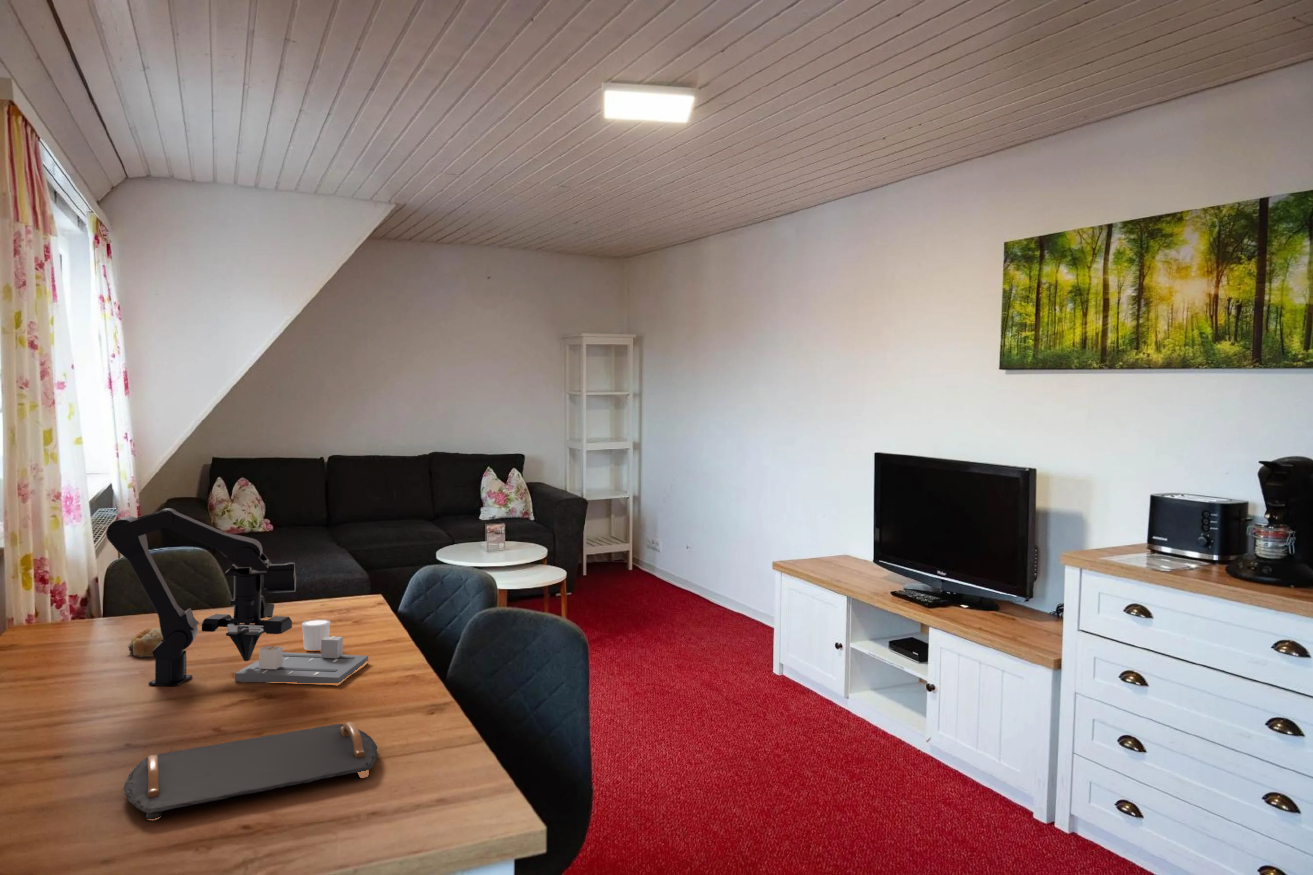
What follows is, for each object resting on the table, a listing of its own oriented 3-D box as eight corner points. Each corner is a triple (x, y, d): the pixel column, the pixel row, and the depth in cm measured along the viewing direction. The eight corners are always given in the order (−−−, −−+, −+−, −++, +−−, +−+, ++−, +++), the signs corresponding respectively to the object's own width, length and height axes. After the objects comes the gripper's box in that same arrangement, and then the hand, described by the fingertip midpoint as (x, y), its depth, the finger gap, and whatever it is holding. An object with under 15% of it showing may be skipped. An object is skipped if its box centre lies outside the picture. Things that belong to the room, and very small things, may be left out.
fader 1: (275, 669, 192) (276, 649, 192) (259, 668, 192) (259, 649, 192) (282, 665, 195) (282, 646, 195) (265, 664, 195) (265, 645, 195)
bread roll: (152, 672, 206) (166, 644, 205) (115, 654, 206) (129, 625, 205) (176, 661, 216) (190, 633, 215) (141, 643, 216) (154, 615, 215)
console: (338, 686, 189) (338, 676, 188) (234, 681, 190) (234, 672, 190) (368, 663, 205) (368, 655, 205) (272, 659, 207) (272, 651, 207)
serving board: (360, 734, 163) (360, 702, 163) (390, 779, 143) (390, 744, 143) (124, 775, 142) (125, 739, 142) (122, 835, 123) (122, 793, 123)
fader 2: (337, 658, 202) (337, 639, 202) (321, 657, 202) (321, 639, 202) (342, 654, 205) (342, 636, 205) (326, 654, 205) (326, 635, 205)
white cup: (334, 645, 220) (335, 619, 220) (321, 653, 213) (322, 626, 213) (310, 644, 221) (310, 618, 220) (296, 651, 214) (296, 624, 214)
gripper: (303, 587, 201) (302, 652, 202) (227, 585, 202) (227, 649, 203) (280, 598, 190) (279, 666, 191) (200, 595, 191) (200, 663, 191)
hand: (247, 660), depth 194 cm, fingers closed
